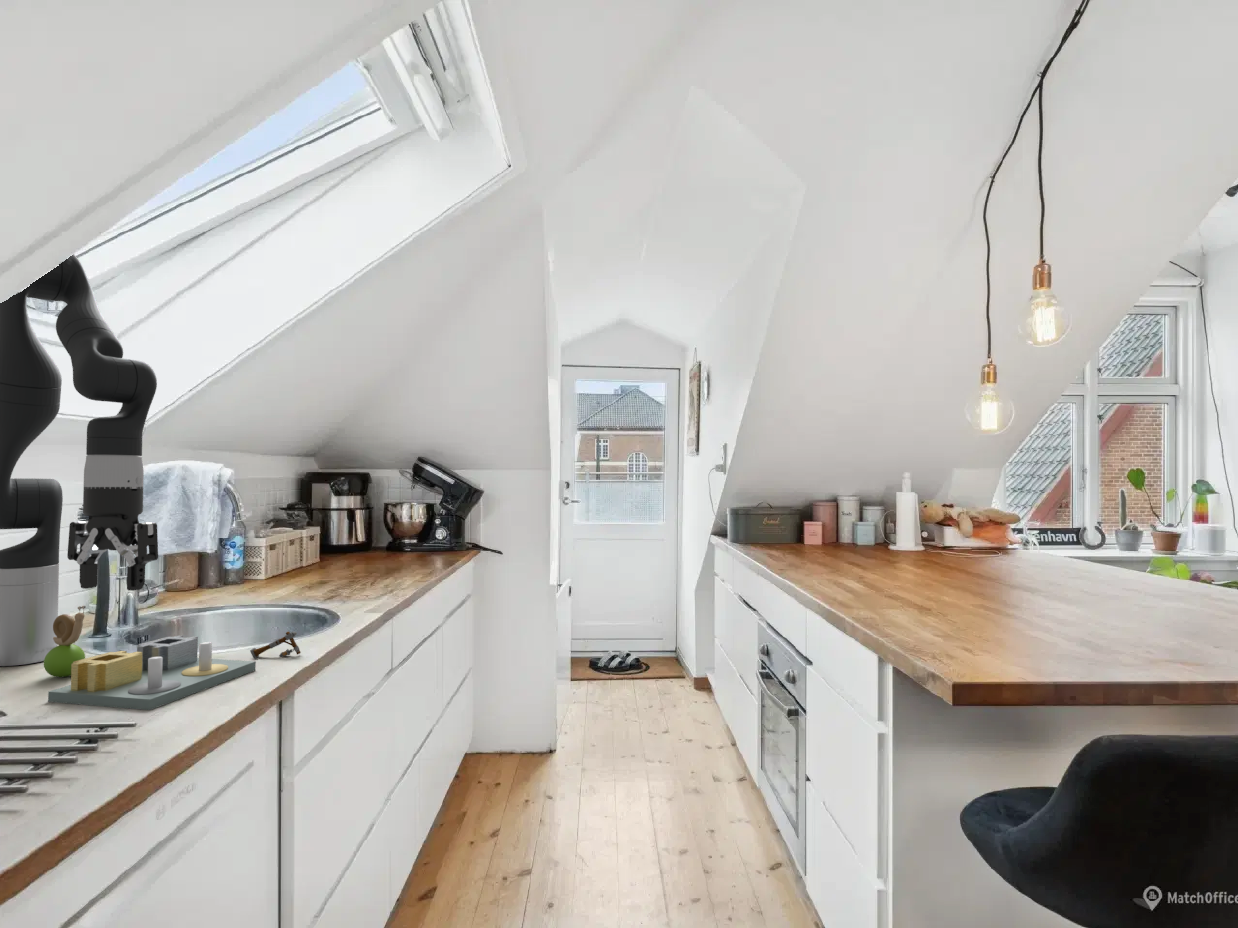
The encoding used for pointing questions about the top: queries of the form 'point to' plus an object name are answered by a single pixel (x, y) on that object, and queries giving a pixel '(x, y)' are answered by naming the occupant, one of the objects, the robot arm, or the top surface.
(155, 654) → the grey hollow block
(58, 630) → the snail figurine
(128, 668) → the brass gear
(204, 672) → the gear board
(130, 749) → the top surface
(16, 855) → the top surface
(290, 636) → the brown grey angled piece
